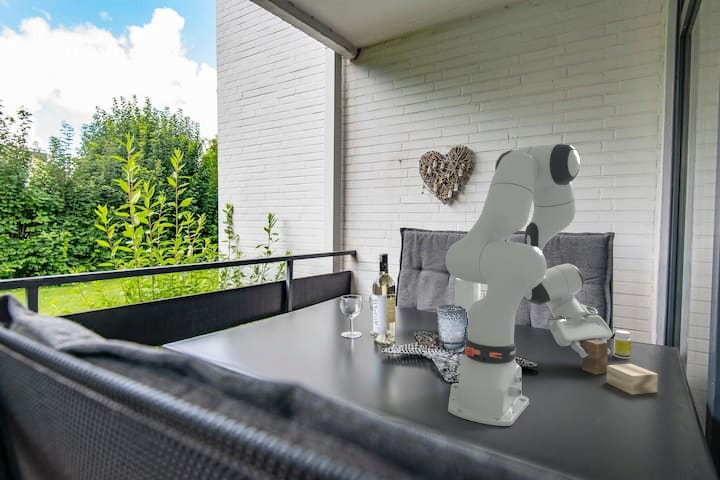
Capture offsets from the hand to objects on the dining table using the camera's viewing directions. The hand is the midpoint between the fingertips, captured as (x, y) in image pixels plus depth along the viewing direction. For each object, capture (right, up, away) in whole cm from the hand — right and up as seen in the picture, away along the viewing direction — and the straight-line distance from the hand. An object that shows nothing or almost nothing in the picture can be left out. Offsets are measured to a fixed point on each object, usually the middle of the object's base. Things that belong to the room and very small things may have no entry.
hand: (596, 355), depth 118 cm
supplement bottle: (+17, -5, +14) cm, 23 cm away
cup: (-28, -3, +42) cm, 50 cm away
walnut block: (0, -5, +1) cm, 5 cm away
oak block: (+3, -6, -11) cm, 13 cm away
